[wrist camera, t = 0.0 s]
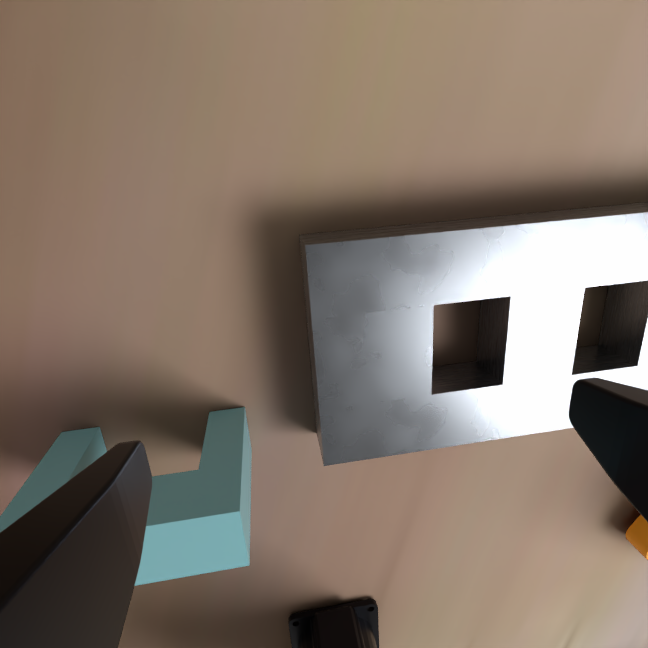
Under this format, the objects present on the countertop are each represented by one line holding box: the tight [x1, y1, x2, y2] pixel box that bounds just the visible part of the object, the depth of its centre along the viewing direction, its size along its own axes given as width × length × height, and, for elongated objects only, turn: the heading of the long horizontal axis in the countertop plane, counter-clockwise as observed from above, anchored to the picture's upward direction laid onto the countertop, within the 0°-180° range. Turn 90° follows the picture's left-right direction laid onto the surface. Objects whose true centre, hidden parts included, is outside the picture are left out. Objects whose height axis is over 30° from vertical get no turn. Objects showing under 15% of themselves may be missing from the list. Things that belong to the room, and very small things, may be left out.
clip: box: [0, 407, 252, 586], centre depth 21 cm, size 3×10×8 cm, turn 94°
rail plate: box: [299, 202, 648, 466], centre depth 24 cm, size 12×24×3 cm, turn 94°
